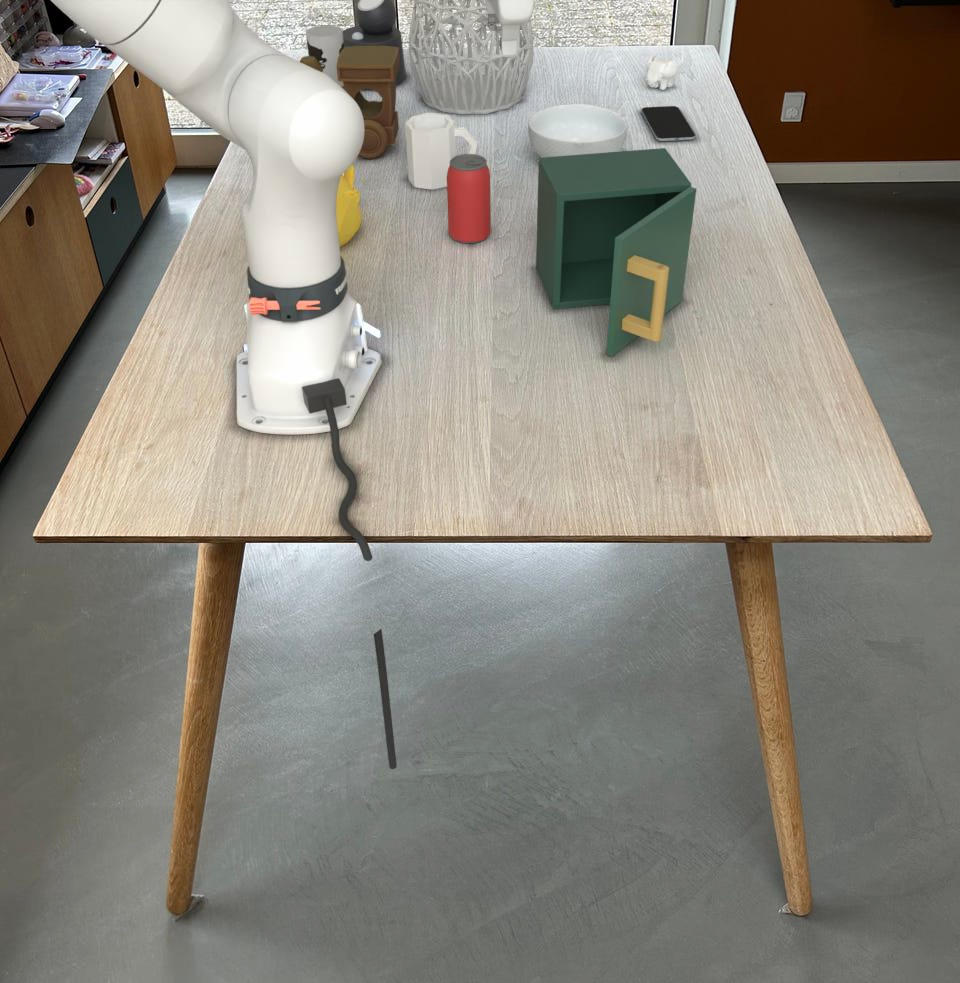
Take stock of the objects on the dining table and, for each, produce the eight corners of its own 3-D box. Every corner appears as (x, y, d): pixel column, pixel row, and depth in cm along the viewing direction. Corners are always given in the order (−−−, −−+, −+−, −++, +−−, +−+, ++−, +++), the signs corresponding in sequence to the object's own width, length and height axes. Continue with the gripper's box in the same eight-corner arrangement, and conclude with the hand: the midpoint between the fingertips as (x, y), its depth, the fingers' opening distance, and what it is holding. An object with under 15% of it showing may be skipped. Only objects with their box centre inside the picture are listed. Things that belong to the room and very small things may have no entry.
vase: (476, 66, 222) (473, -93, 202) (557, 96, 208) (563, -72, 188) (386, 95, 209) (375, -71, 190) (467, 129, 196) (463, -47, 176)
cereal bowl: (514, 173, 180) (515, 133, 176) (543, 137, 192) (544, 99, 188) (610, 187, 176) (613, 146, 171) (634, 149, 188) (637, 110, 183)
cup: (348, 104, 206) (341, 24, 196) (351, 116, 201) (343, 35, 191) (314, 106, 205) (305, 26, 195) (315, 119, 200) (306, 37, 190)
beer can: (486, 246, 160) (485, 171, 152) (444, 243, 161) (441, 168, 153) (494, 227, 165) (494, 153, 157) (453, 224, 166) (451, 150, 158)
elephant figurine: (634, 88, 211) (637, 58, 207) (660, 78, 215) (663, 48, 211) (660, 97, 207) (663, 66, 203) (686, 86, 211) (689, 56, 207)
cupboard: (677, 298, 148) (691, 183, 137) (552, 309, 146) (557, 194, 135) (653, 257, 157) (665, 147, 146) (535, 268, 155) (538, 157, 144)
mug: (408, 190, 176) (405, 133, 169) (408, 169, 182) (405, 113, 176) (479, 188, 176) (478, 130, 170) (477, 167, 182) (476, 111, 176)
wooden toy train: (405, 136, 193) (400, 43, 182) (399, 162, 185) (393, 65, 174) (298, 135, 194) (286, 43, 183) (287, 161, 185) (274, 65, 175)
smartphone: (657, 138, 189) (640, 107, 201) (656, 141, 190) (640, 110, 201) (696, 136, 190) (677, 105, 201) (696, 140, 190) (677, 109, 201)
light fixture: (316, -2, 206) (370, -17, 214) (324, 80, 216) (376, 63, 224) (361, 11, 199) (415, -5, 207) (367, 96, 209) (419, 77, 217)
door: (715, 312, 144) (733, 199, 133) (647, 371, 134) (660, 252, 123) (675, 298, 147) (689, 186, 136) (605, 354, 137) (615, 237, 126)
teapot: (235, 236, 164) (221, 158, 155) (326, 197, 174) (318, 121, 166) (318, 278, 153) (308, 197, 145) (410, 234, 163) (405, 155, 155)
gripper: (461, -103, 127) (464, 17, 136) (488, -62, 112) (489, 70, 121) (512, -105, 128) (511, 14, 137) (546, -65, 112) (543, 66, 121)
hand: (501, 41), depth 129 cm, fingers open, 8 cm apart
